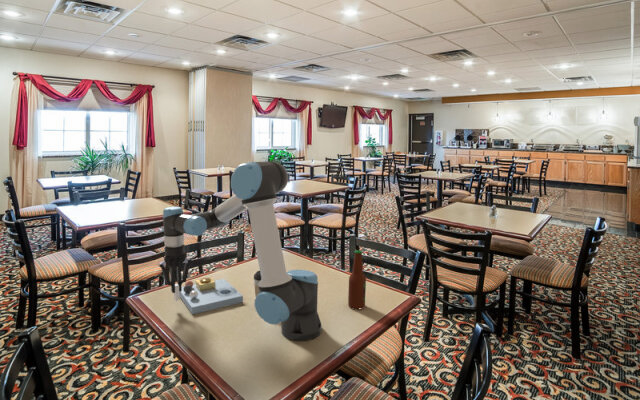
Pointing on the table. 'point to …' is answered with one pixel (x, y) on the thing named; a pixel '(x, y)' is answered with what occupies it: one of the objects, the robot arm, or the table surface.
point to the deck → (212, 297)
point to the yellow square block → (205, 284)
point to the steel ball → (193, 295)
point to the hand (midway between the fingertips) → (176, 299)
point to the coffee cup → (257, 282)
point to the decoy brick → (189, 283)
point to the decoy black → (187, 289)
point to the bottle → (357, 283)
